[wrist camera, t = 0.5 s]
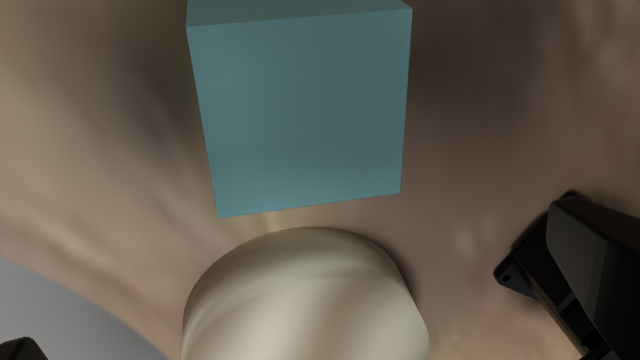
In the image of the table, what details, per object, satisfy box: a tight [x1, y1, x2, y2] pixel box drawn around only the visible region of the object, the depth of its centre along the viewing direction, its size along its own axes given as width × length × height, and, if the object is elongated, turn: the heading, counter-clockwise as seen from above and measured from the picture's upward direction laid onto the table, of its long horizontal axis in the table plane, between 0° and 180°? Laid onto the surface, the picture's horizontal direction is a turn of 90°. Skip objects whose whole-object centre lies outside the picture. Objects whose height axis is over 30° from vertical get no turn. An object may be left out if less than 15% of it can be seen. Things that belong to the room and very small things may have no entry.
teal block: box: [186, 0, 413, 218], centre depth 17 cm, size 6×6×6 cm
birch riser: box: [182, 227, 429, 360], centre depth 26 cm, size 12×12×4 cm
